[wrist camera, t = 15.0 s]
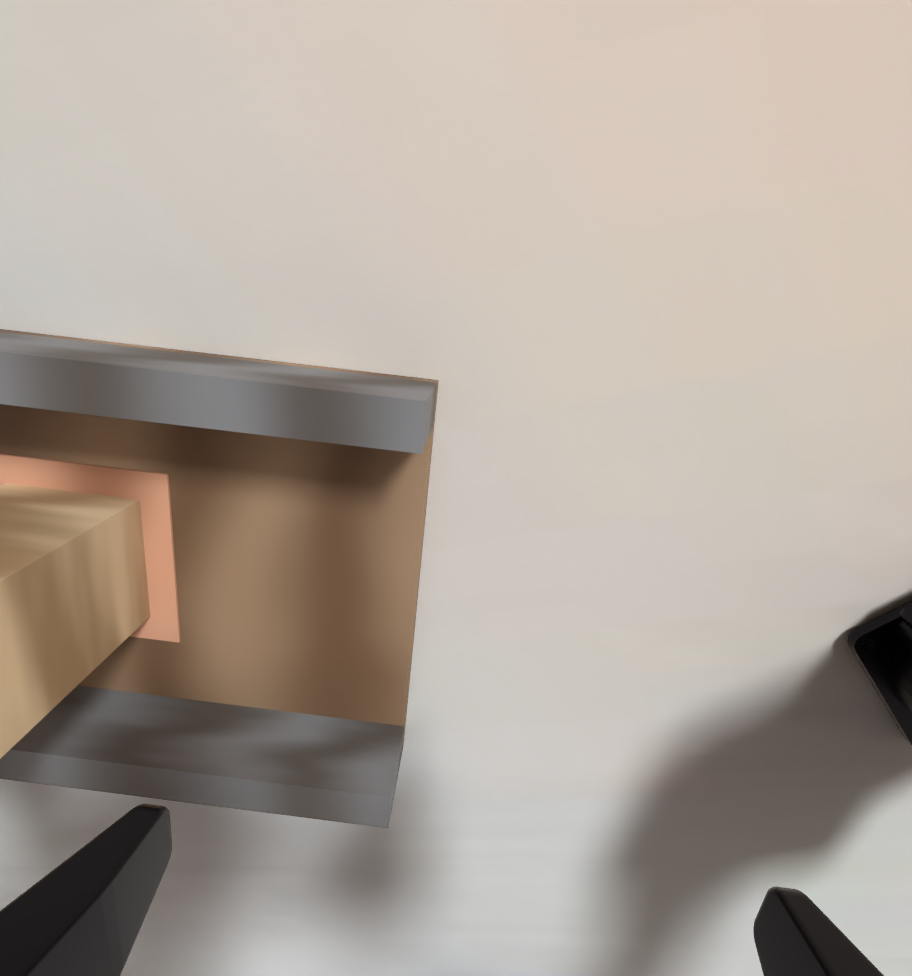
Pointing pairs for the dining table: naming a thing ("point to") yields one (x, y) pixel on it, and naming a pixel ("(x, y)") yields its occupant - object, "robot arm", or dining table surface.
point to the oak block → (63, 595)
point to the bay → (235, 571)
